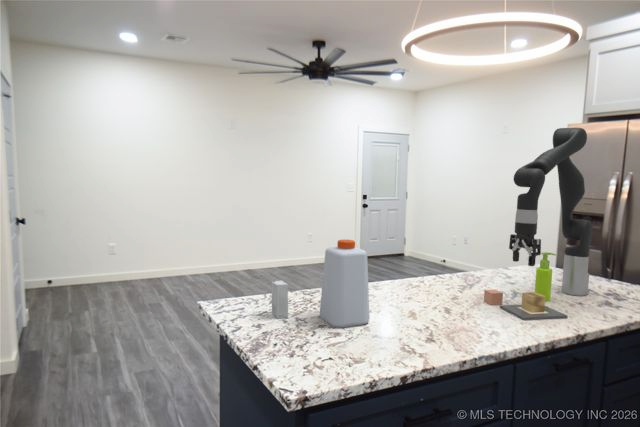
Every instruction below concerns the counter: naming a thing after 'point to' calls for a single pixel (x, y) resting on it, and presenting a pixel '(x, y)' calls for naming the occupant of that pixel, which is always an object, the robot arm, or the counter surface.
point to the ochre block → (533, 302)
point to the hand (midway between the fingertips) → (523, 263)
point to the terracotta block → (493, 297)
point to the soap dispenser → (544, 277)
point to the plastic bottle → (345, 286)
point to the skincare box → (279, 299)
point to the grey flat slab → (528, 315)
